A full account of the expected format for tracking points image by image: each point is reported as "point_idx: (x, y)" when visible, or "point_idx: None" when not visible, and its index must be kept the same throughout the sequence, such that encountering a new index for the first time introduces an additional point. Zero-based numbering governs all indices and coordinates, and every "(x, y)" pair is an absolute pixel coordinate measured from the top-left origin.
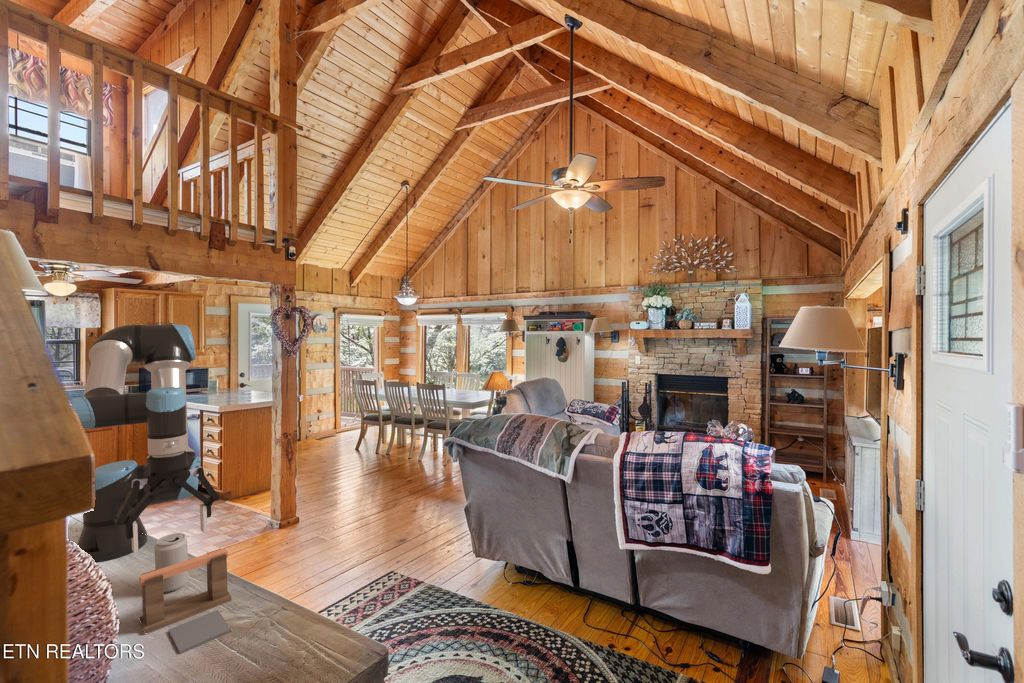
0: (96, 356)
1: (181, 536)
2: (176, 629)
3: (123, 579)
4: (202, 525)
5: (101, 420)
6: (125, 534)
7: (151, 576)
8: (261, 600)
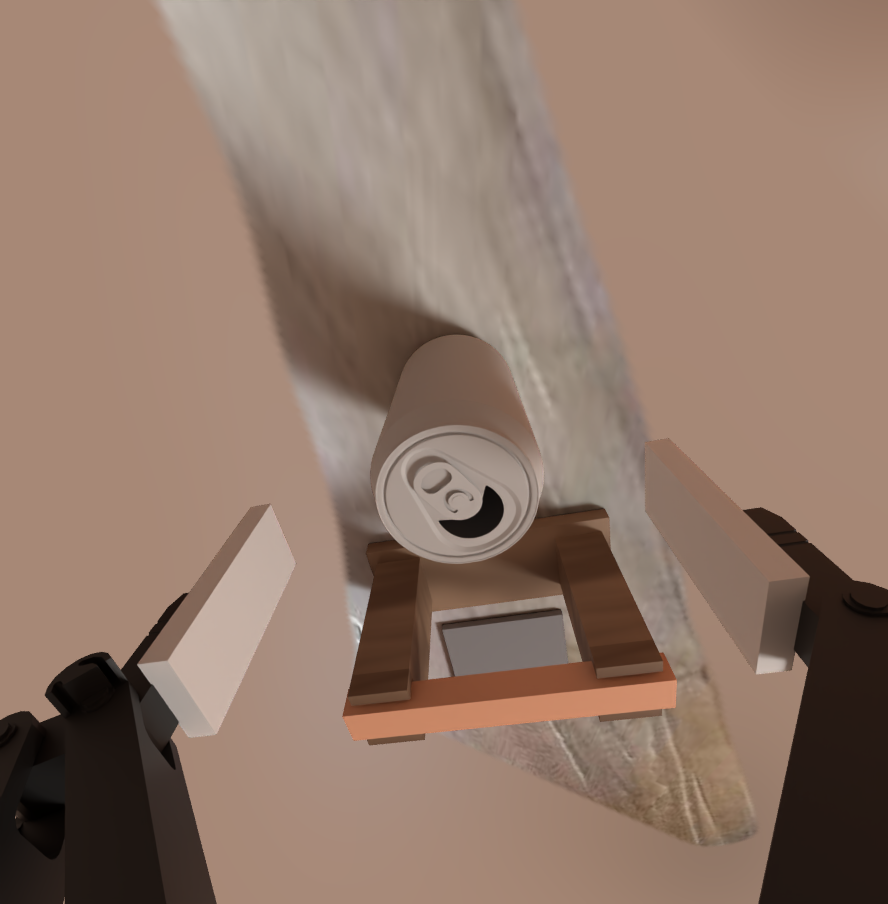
0: None
1: (517, 496)
2: (459, 639)
3: (251, 178)
4: (664, 514)
5: None
6: (165, 619)
7: (386, 734)
8: (674, 618)
